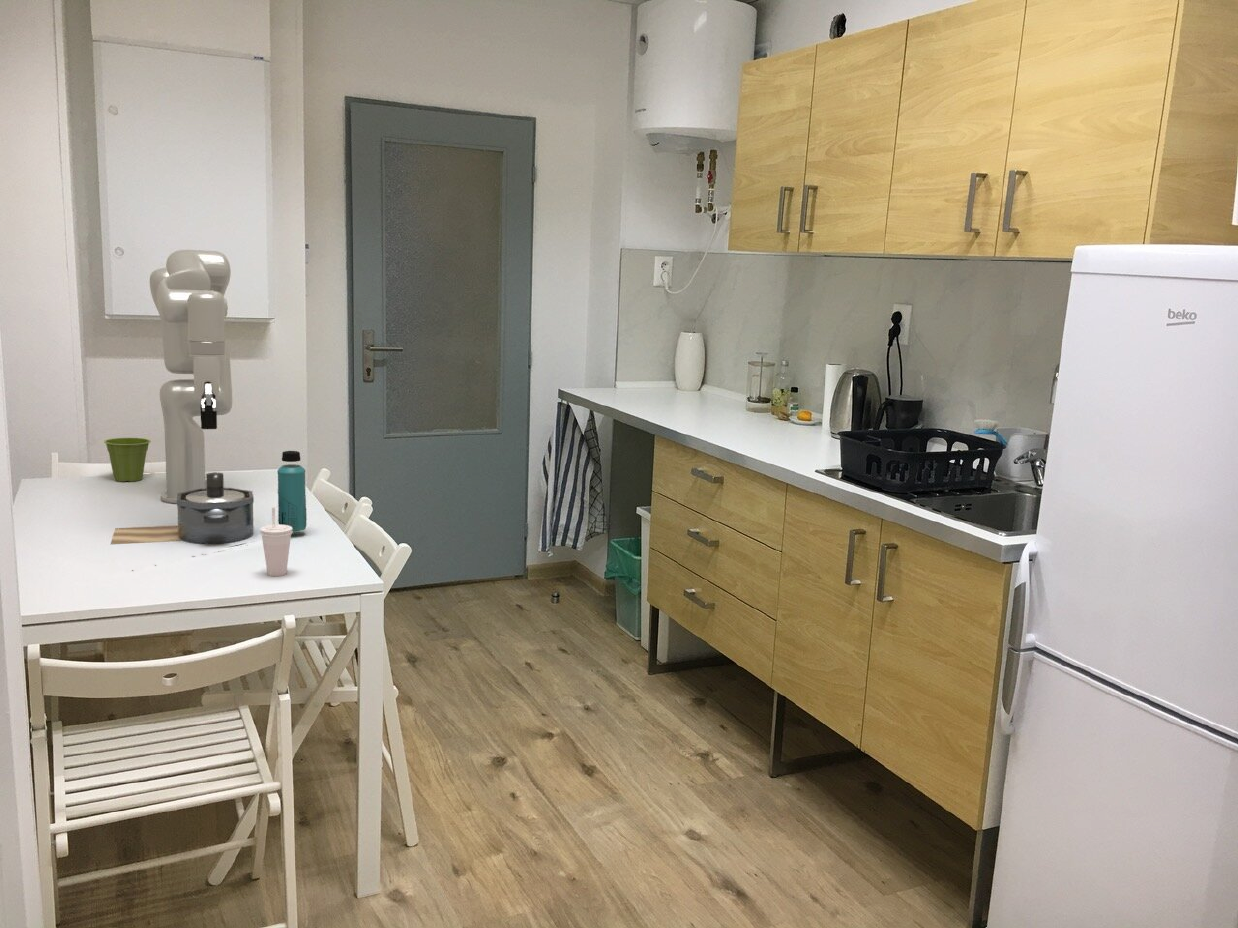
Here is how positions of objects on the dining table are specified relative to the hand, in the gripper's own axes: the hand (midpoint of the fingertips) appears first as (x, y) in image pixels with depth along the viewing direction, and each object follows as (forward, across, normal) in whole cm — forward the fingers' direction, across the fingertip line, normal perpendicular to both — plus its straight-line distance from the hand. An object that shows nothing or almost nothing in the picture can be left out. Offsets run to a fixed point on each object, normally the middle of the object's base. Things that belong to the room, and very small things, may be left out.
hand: (208, 425), depth 229 cm
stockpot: (+26, +1, +1) cm, 26 cm away
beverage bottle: (+26, +1, +18) cm, 32 cm away
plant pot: (+27, -69, -20) cm, 77 cm away
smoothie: (+26, +31, +12) cm, 43 cm away
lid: (+17, +1, +1) cm, 17 cm away
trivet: (+26, -2, -13) cm, 30 cm away
